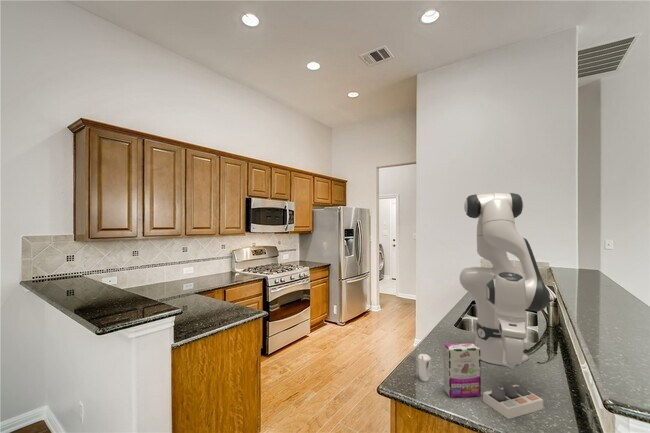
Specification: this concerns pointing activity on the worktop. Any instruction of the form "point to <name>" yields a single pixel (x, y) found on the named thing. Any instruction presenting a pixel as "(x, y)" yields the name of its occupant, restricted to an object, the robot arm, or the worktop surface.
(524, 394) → the button
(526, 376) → the worktop surface
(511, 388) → the button middle
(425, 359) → the milkshake
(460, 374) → the candy bar box
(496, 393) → the button
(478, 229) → the robot arm
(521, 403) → the button board
